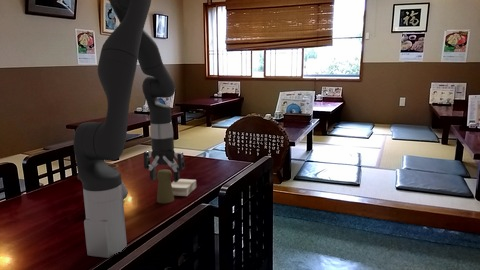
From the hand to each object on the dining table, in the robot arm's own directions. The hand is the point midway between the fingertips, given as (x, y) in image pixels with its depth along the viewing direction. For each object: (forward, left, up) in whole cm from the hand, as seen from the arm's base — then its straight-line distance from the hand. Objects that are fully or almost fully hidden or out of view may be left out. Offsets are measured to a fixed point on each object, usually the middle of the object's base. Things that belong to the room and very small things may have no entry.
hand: (165, 180), depth 127 cm
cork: (0, 0, -7) cm, 7 cm away
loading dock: (+10, -2, -7) cm, 12 cm away
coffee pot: (-10, +18, -7) cm, 22 cm away
